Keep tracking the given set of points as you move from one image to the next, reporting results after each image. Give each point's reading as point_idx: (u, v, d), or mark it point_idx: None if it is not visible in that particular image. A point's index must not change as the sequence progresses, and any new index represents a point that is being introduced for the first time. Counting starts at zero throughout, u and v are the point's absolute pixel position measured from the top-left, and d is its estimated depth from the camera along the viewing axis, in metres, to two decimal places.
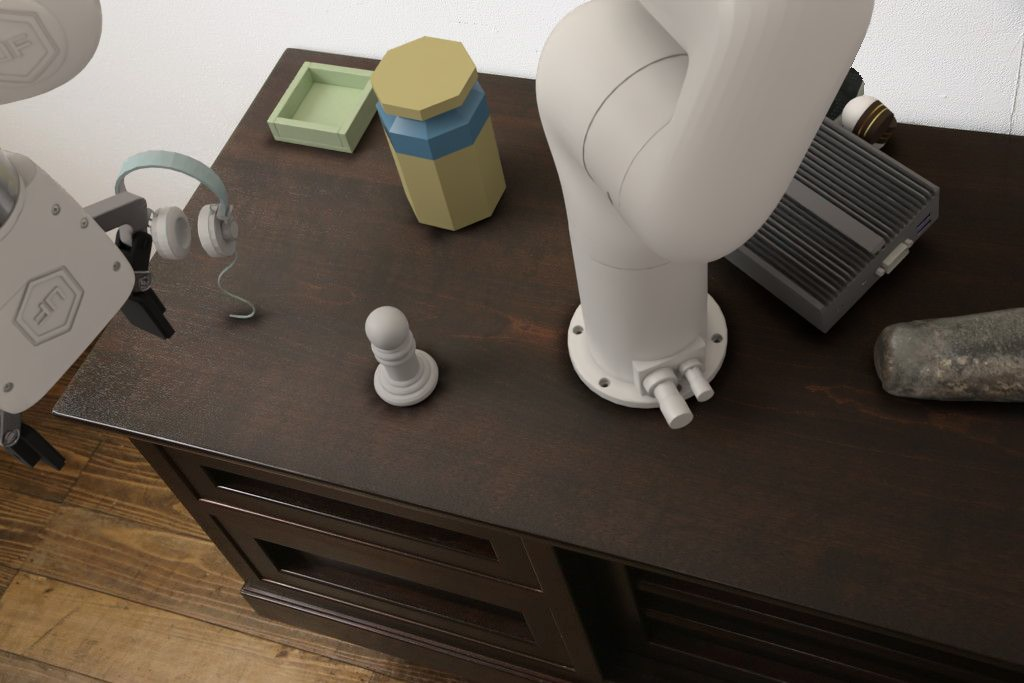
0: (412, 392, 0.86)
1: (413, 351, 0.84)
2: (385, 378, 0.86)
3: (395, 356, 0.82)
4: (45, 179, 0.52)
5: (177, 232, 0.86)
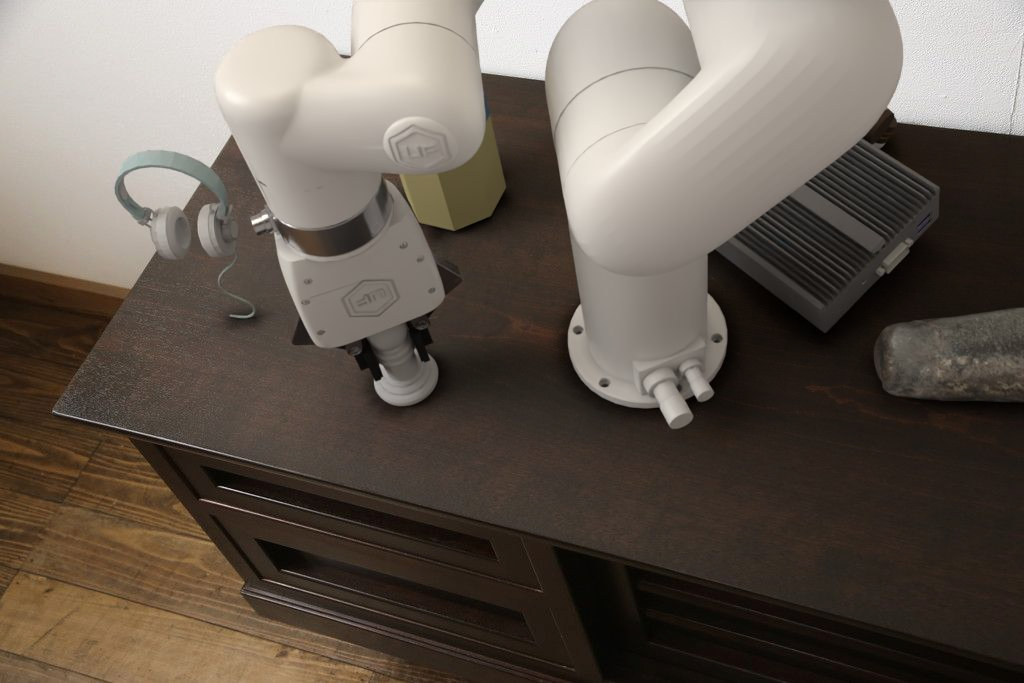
0: (412, 392, 0.86)
1: (412, 351, 0.84)
2: (385, 378, 0.86)
3: (394, 356, 0.82)
4: (406, 225, 0.71)
5: (177, 232, 0.86)
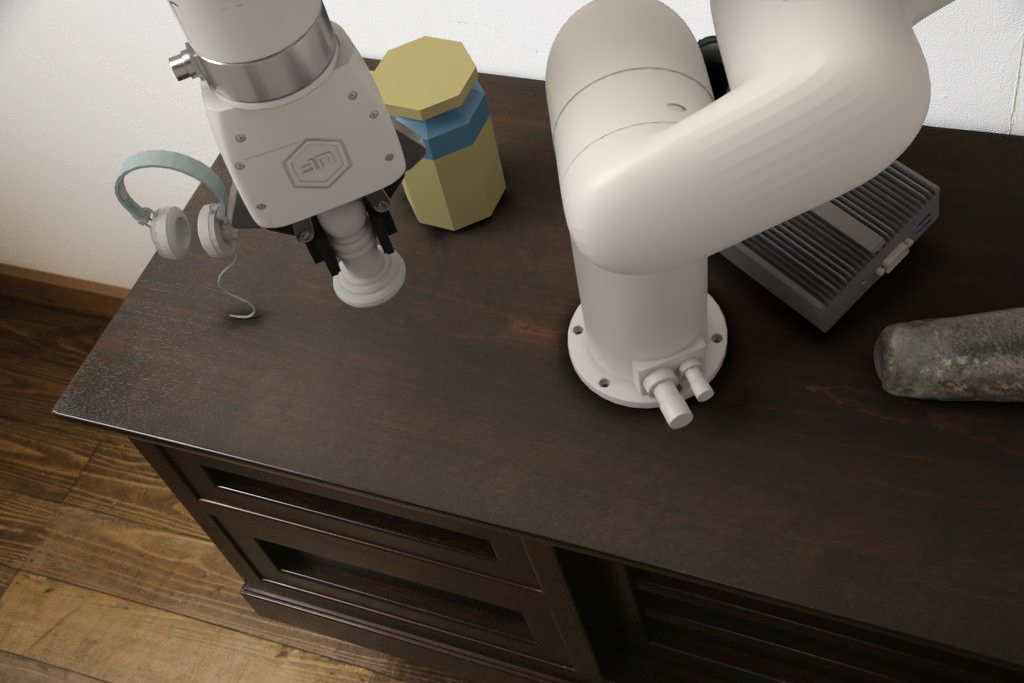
0: (375, 291, 0.75)
1: (373, 241, 0.73)
2: (344, 276, 0.76)
3: (352, 245, 0.72)
4: (354, 69, 0.60)
5: (177, 232, 0.86)
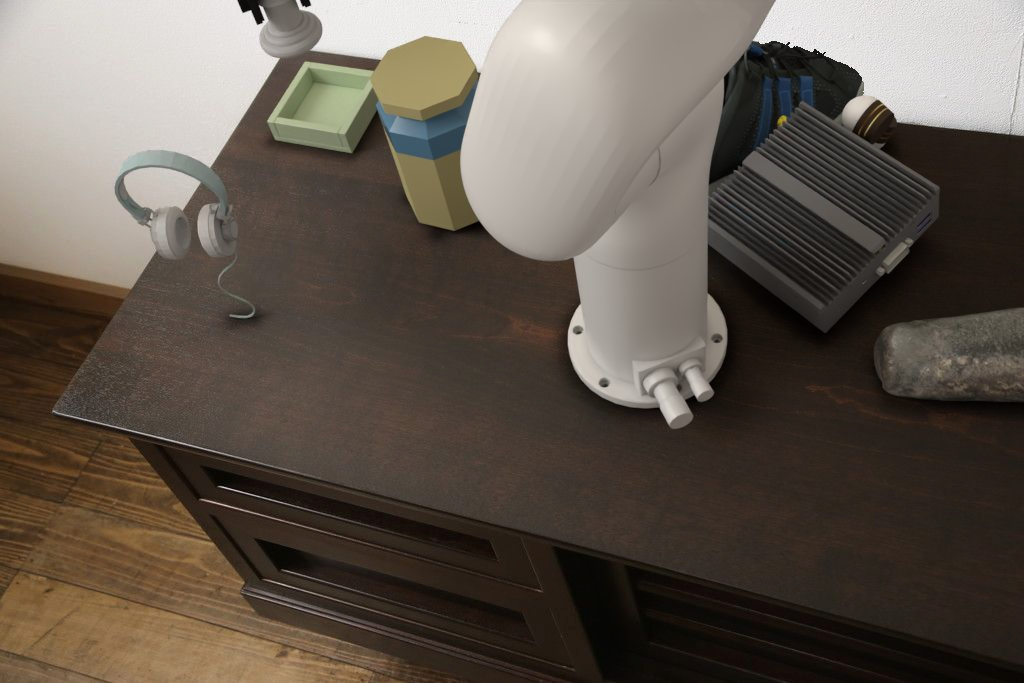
0: (295, 42, 0.87)
1: None
2: (269, 31, 0.88)
3: None
4: None
5: (177, 232, 0.86)
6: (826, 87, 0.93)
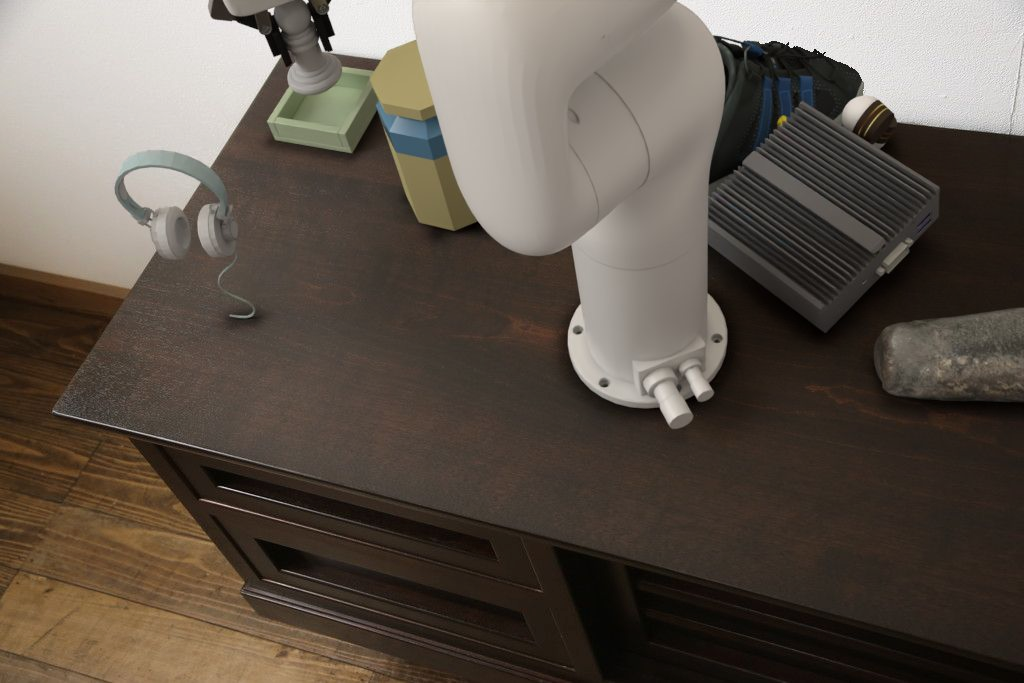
0: (318, 82, 1.01)
1: (316, 40, 0.99)
2: (296, 71, 1.01)
3: (300, 40, 0.97)
4: None
5: (177, 232, 0.86)
6: (826, 87, 0.93)
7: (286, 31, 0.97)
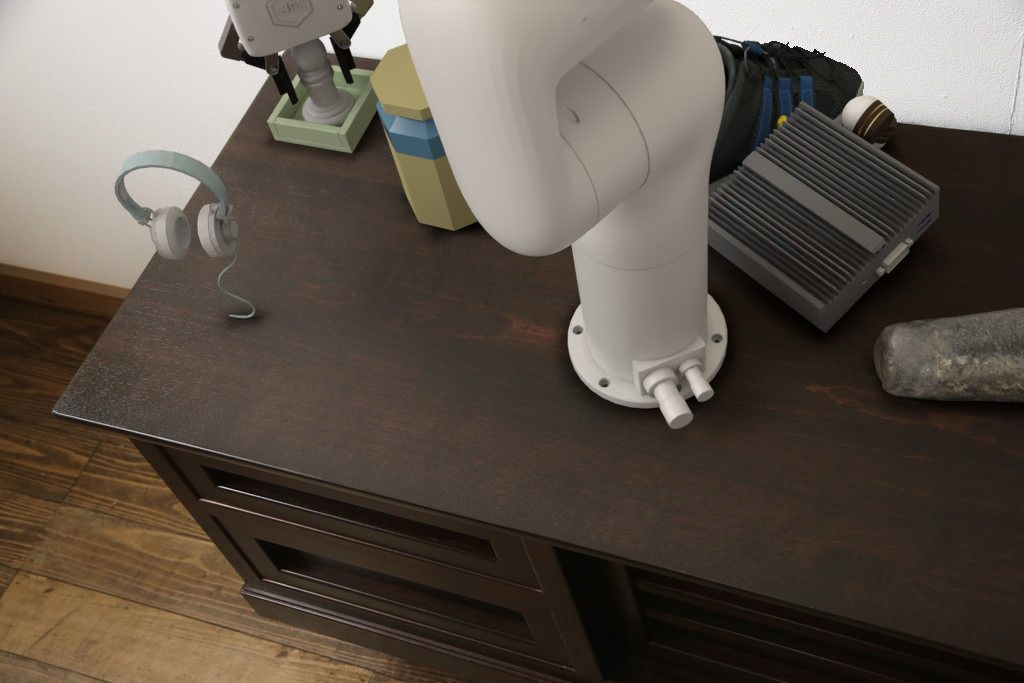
0: (332, 116, 1.04)
1: (331, 76, 1.02)
2: (310, 106, 1.05)
3: (315, 77, 1.01)
4: None
5: (177, 232, 0.86)
6: (826, 87, 0.93)
7: (302, 68, 1.00)
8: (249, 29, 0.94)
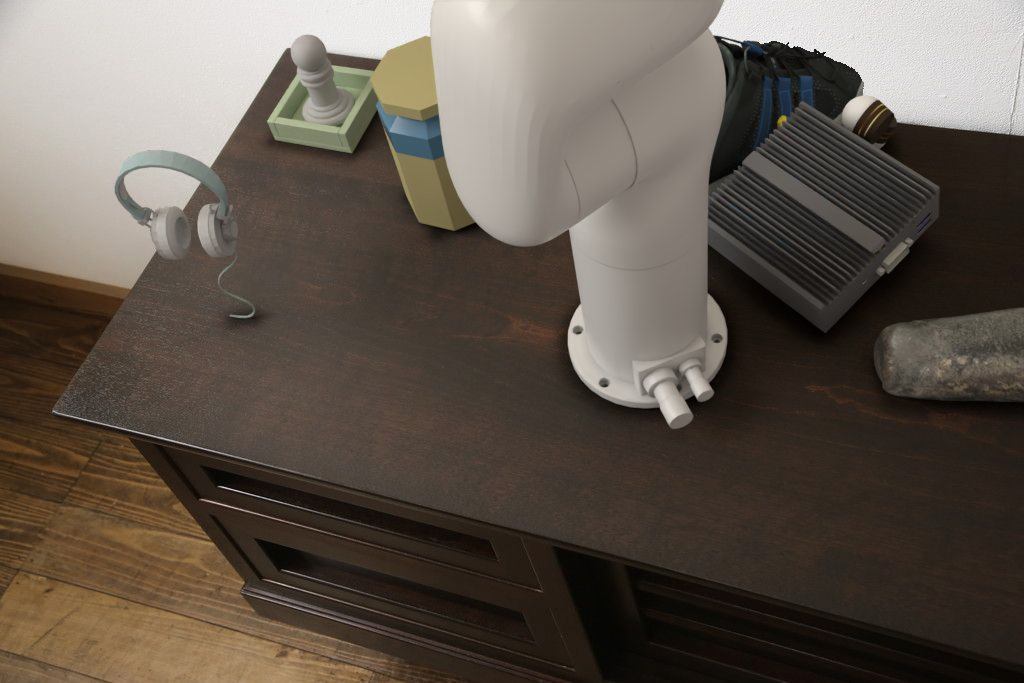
0: (332, 116, 1.04)
1: (331, 76, 1.02)
2: (310, 106, 1.05)
3: (315, 77, 1.01)
4: None
5: (177, 232, 0.86)
6: (825, 87, 0.93)
7: (302, 68, 1.00)
8: None
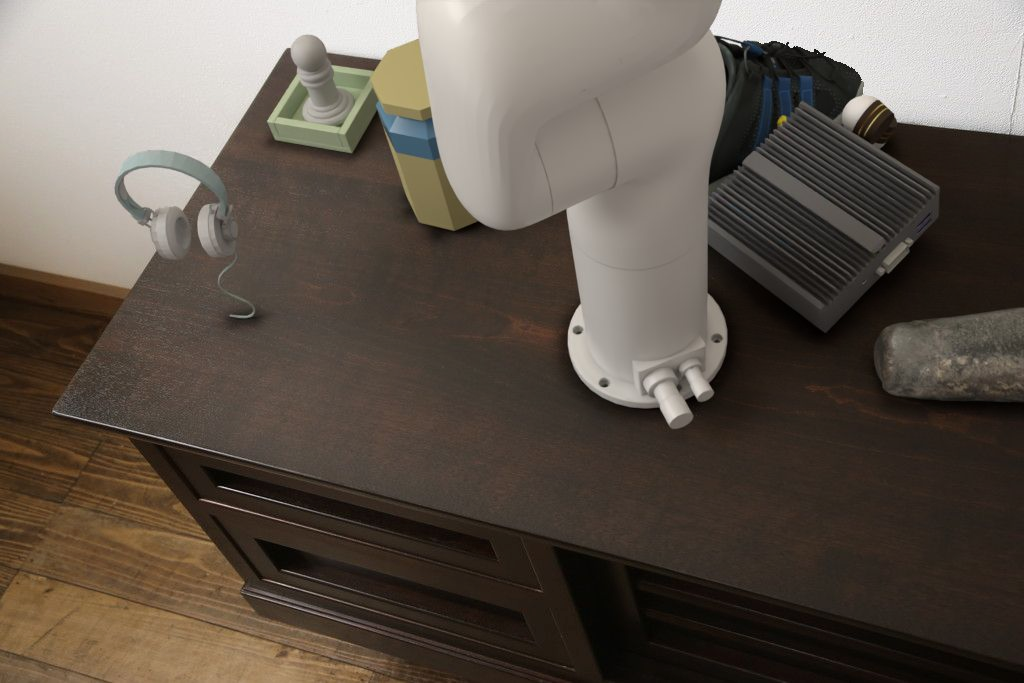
0: (332, 116, 1.04)
1: (331, 76, 1.02)
2: (310, 106, 1.05)
3: (315, 77, 1.01)
4: None
5: (177, 232, 0.86)
6: (825, 87, 0.93)
7: (302, 68, 1.00)
8: None
